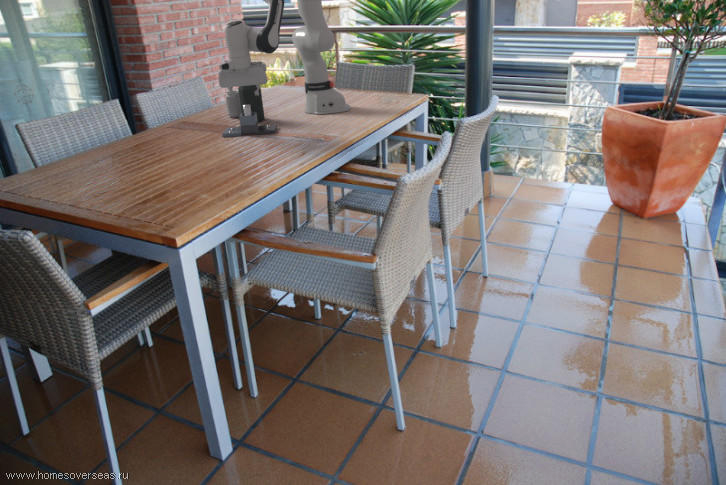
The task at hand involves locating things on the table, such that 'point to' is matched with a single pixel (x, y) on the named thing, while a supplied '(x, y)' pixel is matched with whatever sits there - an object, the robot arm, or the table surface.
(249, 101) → the bottle
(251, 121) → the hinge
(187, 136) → the table surface
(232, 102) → the can
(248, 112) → the pin
